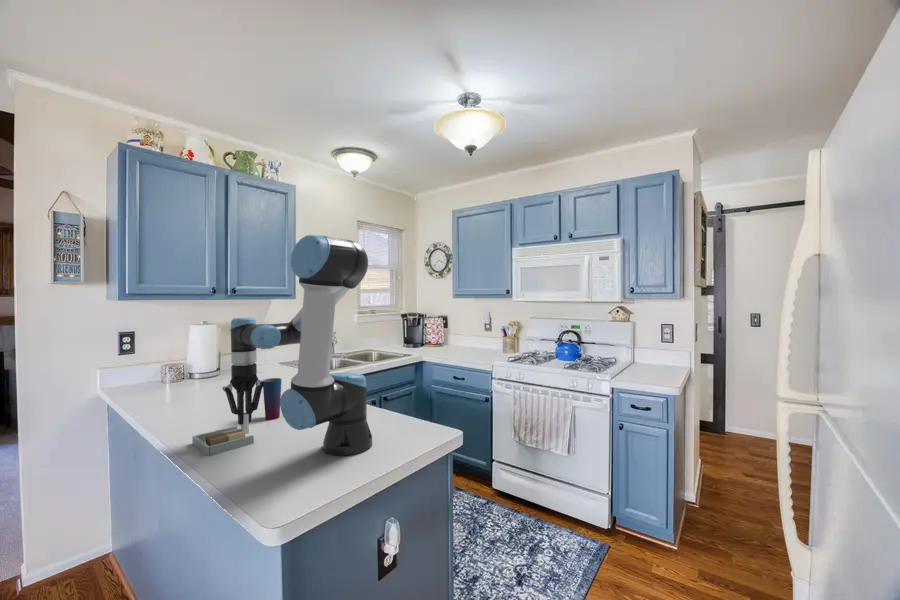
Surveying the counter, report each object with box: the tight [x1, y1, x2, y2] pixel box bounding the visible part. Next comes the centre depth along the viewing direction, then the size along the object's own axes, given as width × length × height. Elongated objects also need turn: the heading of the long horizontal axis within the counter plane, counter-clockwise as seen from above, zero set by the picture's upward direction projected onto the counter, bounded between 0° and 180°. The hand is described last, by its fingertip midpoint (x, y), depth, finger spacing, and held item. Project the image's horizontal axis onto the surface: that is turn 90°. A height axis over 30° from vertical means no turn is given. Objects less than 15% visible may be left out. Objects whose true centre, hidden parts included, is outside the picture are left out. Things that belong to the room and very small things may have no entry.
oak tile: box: [223, 427, 246, 441], centre depth 127 cm, size 5×5×3 cm
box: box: [191, 425, 255, 457], centre depth 124 cm, size 15×13×2 cm
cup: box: [262, 377, 282, 421], centre depth 150 cm, size 7×7×15 cm
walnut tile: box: [205, 432, 228, 446], centre depth 123 cm, size 5×5×3 cm
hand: (244, 432), depth 129 cm, fingers closed
